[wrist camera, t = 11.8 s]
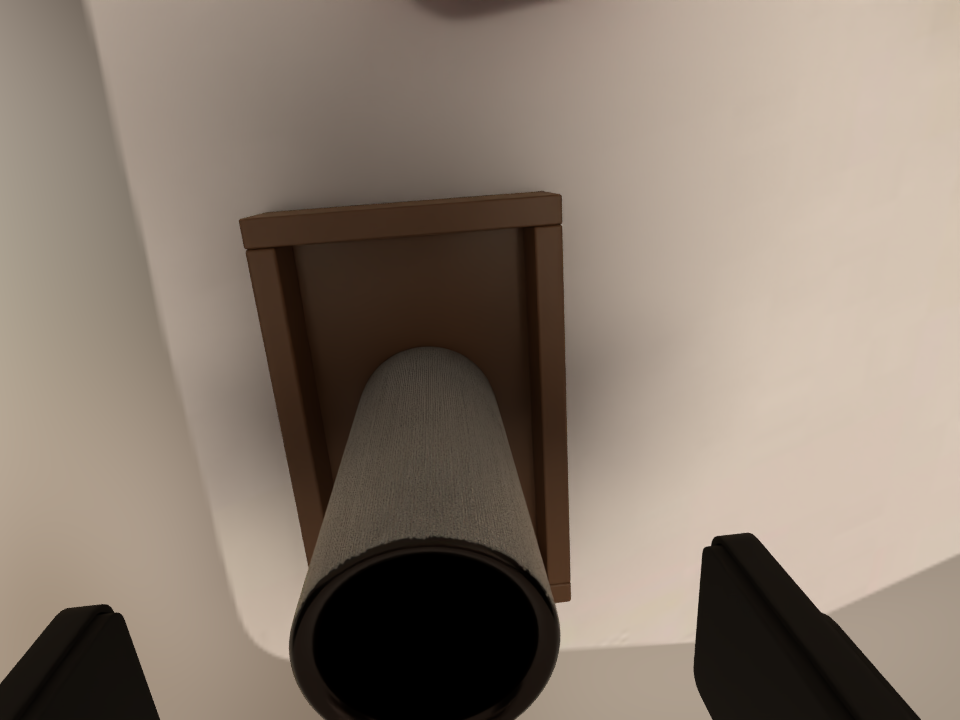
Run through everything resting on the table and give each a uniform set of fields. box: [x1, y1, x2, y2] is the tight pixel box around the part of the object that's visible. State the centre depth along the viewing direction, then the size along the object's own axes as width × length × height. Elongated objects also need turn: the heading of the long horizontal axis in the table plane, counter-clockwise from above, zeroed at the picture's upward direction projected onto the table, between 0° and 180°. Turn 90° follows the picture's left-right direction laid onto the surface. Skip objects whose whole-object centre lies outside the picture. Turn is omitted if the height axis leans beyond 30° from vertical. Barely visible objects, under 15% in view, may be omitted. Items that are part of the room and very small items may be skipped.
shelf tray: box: [239, 191, 571, 603], centre depth 19 cm, size 14×9×3 cm, turn 4°
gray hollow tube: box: [289, 347, 560, 720], centre depth 14 cm, size 4×4×10 cm
